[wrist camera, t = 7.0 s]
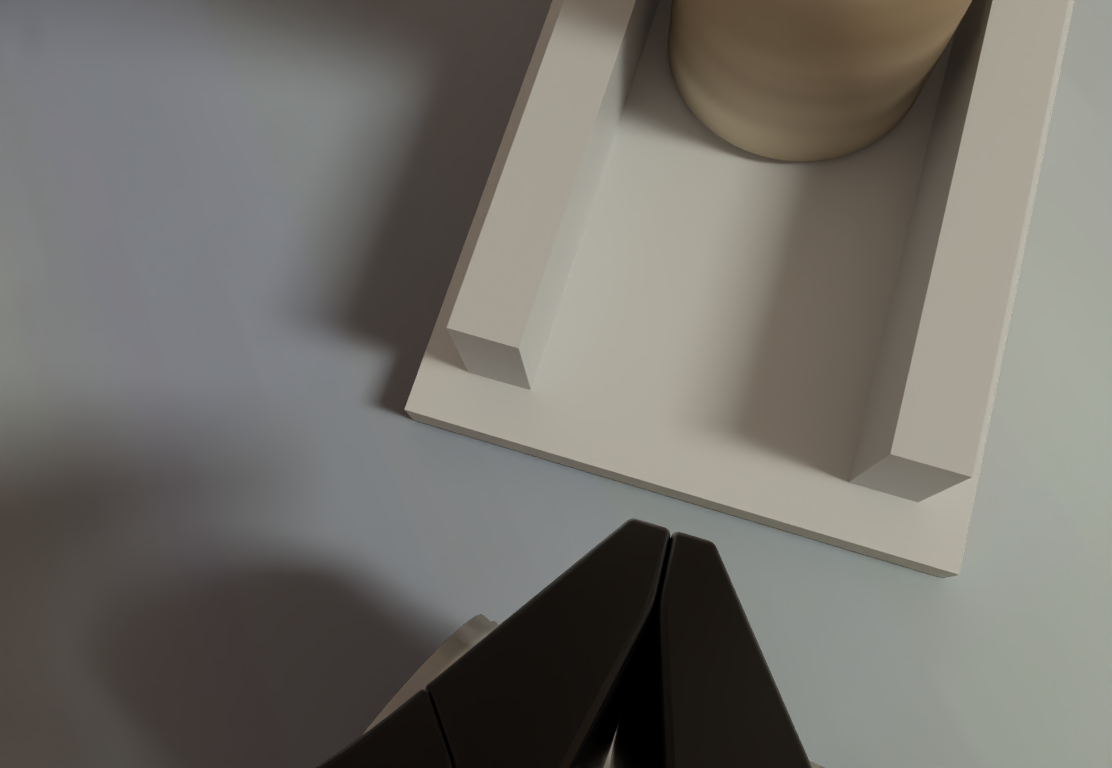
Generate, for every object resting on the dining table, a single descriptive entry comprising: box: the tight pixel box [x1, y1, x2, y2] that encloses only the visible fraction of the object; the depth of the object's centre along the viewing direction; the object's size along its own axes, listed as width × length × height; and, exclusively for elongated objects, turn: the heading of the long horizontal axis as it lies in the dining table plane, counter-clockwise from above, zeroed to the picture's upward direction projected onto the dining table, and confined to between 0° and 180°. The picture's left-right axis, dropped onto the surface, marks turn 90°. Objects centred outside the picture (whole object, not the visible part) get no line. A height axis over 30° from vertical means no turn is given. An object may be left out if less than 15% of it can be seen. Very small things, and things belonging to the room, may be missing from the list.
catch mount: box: [404, 0, 1074, 578], centre depth 17 cm, size 17×10×5 cm, turn 163°
